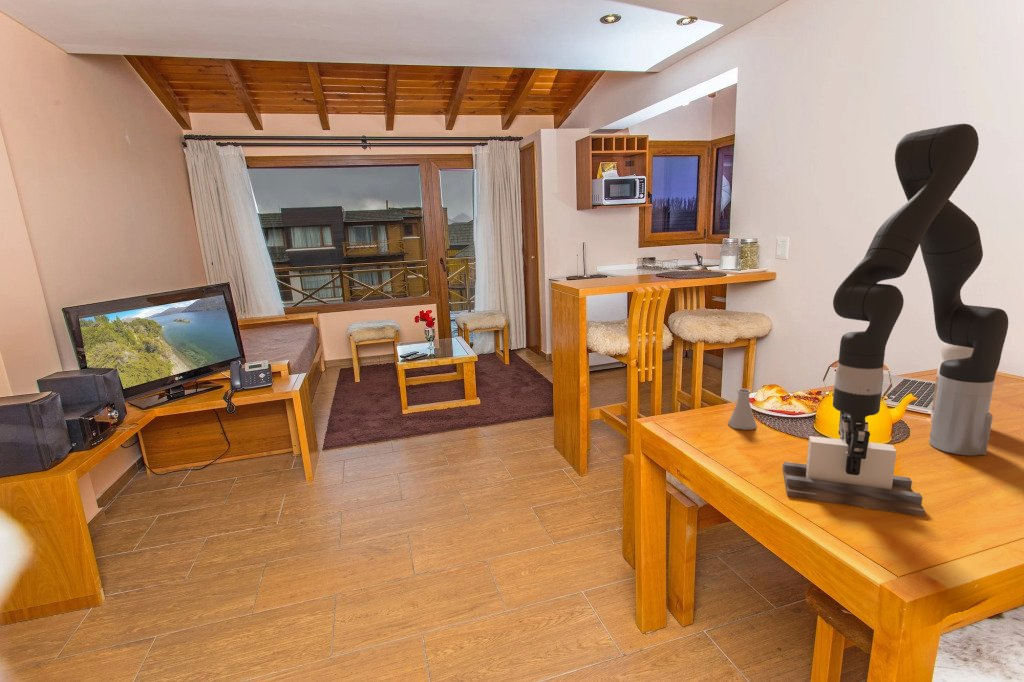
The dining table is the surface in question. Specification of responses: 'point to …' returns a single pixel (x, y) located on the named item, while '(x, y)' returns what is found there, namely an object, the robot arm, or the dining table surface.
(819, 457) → the panel
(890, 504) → the track
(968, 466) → the dining table surface
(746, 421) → the flask
